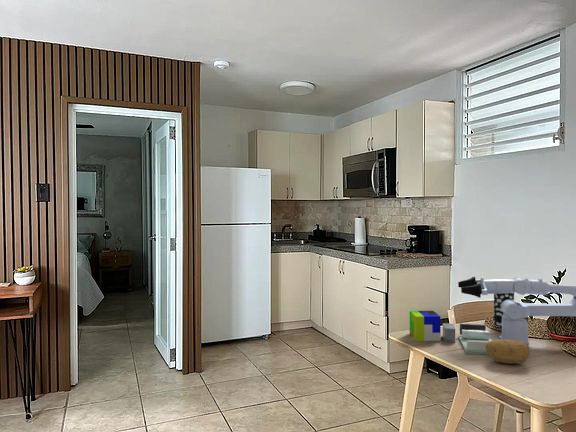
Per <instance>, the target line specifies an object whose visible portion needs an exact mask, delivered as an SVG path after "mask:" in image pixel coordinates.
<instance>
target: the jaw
mask: <svg viewBox="0 0 576 432" xmlns="http://www.w3.org/2000/svg"><path fill="white" fill-rule="evenodd" d="M460 335H461V337H462V338H466V339H484V340H489V338H490V331H489V330H487V327H486V324H481V323H479V324H478V323H476V324H475V323H459V336H460Z"/></svg>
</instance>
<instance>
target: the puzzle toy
mask: <svg viewBox="0 0 576 432" xmlns="http://www.w3.org/2000/svg"><path fill="white" fill-rule="evenodd" d="M409 334H410V336H411V337H412V338H413V340H414V341H417V342H421V341H423V342H427V341H428V342H429V341H430V342H431V341H433V342H434V341H435V342H437V341H441V316H440V315H439V314H438V313H437V312H435V311H434V310H409Z"/></svg>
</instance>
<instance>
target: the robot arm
mask: <svg viewBox="0 0 576 432" xmlns="http://www.w3.org/2000/svg"><path fill="white" fill-rule="evenodd" d="M457 284H458V286H457V287H459V288H460V290H461V291H460V292H461V294H466V295H470V296H474V297H477V298H479V299H480V298H481V295H482V296H487V295H490V294H491V295H492V294H493V295H494V294H501V293H514V294H515V293H516V294H517V295H518V294H519V295H522V296H524V295H526V294H527V295H528V294H529V295H539V296H546V295H547V294H548V293H555V294H565V295H571V296H573V297H572V299H571V300H570V302H568V303H566V302H565V303H563V302H560V303H559V302H558V303H555V302H554V303H549V302H547V303H548V304H547V303H546V302H544V303H543V302H541V303H539V302H537V303H533V302H531V303H530V302H529V303H527V302H521V301H515V300H514V301H512V300H505V301H503V302H502V304H501V310H502V312H503V315H502V328H501V335H498V337H499V340H504V339H508V340H517V341H523V342H525V343H526V344H530V343H529V323H528V319H527V318H529V317H576V284H560V283H558V284H557V283H556V284H555V283H554V284H553V283H548V282H547V281H546V280H544V279H542V278H537V279H529V278H528V277H525V278H524V279H522V278H520V277H513V278H511V279H510V278H508V279H506V278H505V279H504V278H502V279H499V278H498V279H484V276H481V277H480V278H479V279H478V278H477V279H476V277H475V276H472V277H470V278H468V279H464V280H460V281H458V283H457Z"/></svg>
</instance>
